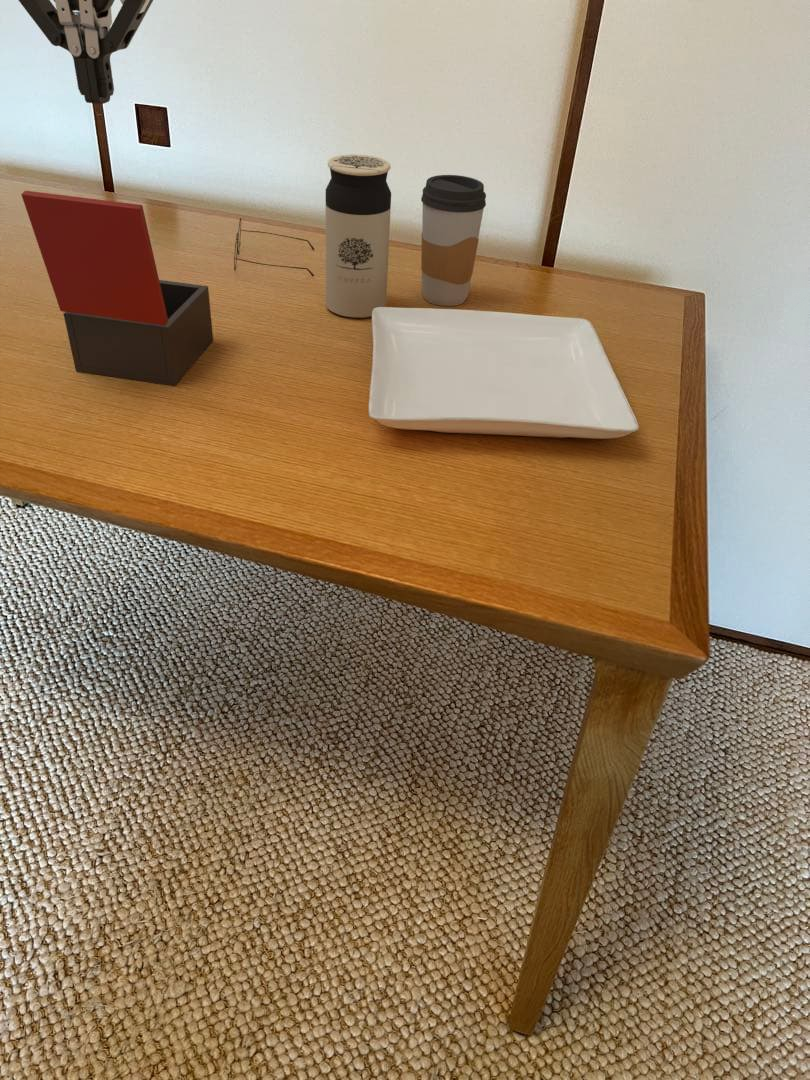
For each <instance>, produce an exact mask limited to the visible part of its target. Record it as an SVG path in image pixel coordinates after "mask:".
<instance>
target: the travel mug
mask: <svg viewBox="0 0 810 1080" xmlns="http://www.w3.org/2000/svg"><path fill="white" fill-rule="evenodd" d="M327 167H328V168H329V170H330V180H329V182H328V184H327V186H326V188H325V306H326V308H327V309H328V310H329V311H330V312H332V313H334V314H336V315H338V316H342V317H345V318H351V319H352V318H353V319H367V318H370V317H371V318H372V311H373V309H374V308H377V307H387V290H388V270H389V250H390V232H391V231H390V229H391V209H392V192H391V189H390V186H389V185H388V182H387V180H388V179H387V178H388V173H389V172H390V170H391V164H390V162H389V161H388V160H386V159H384V158H381V157H378V156H373V155H368V154H367V155H366V154H341V155H336V156H333V157H331V158H330V159H328V161H327Z"/></svg>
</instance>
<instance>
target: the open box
mask: <svg viewBox="0 0 810 1080" xmlns="http://www.w3.org/2000/svg"><path fill="white" fill-rule="evenodd" d="M159 282H160V286H161V291H162V295H163V300H164V304H165V309H166V313H167V318H168V323H167V324H166V326H164V325H157V324H150V323H142V322H135V321H128V320H121V319H114V318H106V317H99V316H92V315H85V314H78V313H70V312H63V318H64V319H63V320H64V323H65V328H66V332H67V338H68V341H69V346H70V350H71V356H72V360H73V364H74V369H75V372H78V373H84V374H91V375H97V376H98V375H99V376H106V377H113V378H118V379H119V378H121V379H125V380H134V381H141V382H146V383H154V384H159V385H166V386H167V385H168V386H174V387H176V386H177V384H178V383H180V381H181V380H182V379H183V377H184V376H185V375H186V374H187V373H188V372H189V370H191V368H192V367H193V366H194V365H195V363H196V362H197V361H198V360H199V358H200V357H201V356H202V354H204V353H205V351H206V350H207V349H208V347H210V345H212V343H213V342H214V333H213V323H212V313H211V304H210V303H211V301H210V291H209V286H208V285H201V284H195V283H188V282H187V283H186V282H178V281H172V280H171V281H170V280H164V279H163V280H162V279H159Z"/></svg>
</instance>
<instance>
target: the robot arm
mask: <svg viewBox="0 0 810 1080" xmlns="http://www.w3.org/2000/svg"><path fill="white" fill-rule="evenodd" d="M119 1H120V3H121V7H120V9H119V11H118V12H117V15H116V17H115V18H114V20H113V16H112V6H113V4H114V3H115V0H53V2H54V3H55V5H54V4H53V2H52V1H51V0H18V2H19V3H20V4H21V6H22V8H24V9H25V11H26V12H27V13H28V15H29V17H31V19H32V20H33V21H34V23H35V24H36V25H37V27H38V28H39V29H40V31H41V32H42V34H43V35H44V36H45V37H46V39H47V40H48V42H49V43H50V44H51V45H52V46H54V47H60V48H62V49H64V50H66V51H68V52H69V53H70V55H71V56H72V57H71V58H72V59H73V65H74V71H75V77H76V83H77V89H78V91H79V93H80V95H81V96H84V97H83V98H84V101H85V102H86V103H88V104H94V105H95V104H96V105H97V104H98V105H104V104H106V103H109V102H110V100H111V97H112V96H113V95H114V91H115V85H114V78H113V73H112V72H113V71H112V65H111V64H112V63H111V55H112V54H113V53H116V52H118V51H121V50H125V49H127V48H128V47H129V46H130V44H131V42H132V40H133V38H134V37H135V34H136V33H137V31H138V29H139V27H140V25H141V23H142V22H143V20H144V19H145V16H146V14H147V12H148V11H149V9H150V7H151V5H152V4H153V2H154V0H119Z"/></svg>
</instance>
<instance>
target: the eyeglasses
mask: <svg viewBox="0 0 810 1080" xmlns="http://www.w3.org/2000/svg"><path fill="white" fill-rule="evenodd" d="M241 221H242V218H241V217H240V218H239V221H238V229H239V231H238V232H236V235H235V244H234V252H236V253H235V255H234V257H233V270H234V271H236V269H237V264H236V263H237V261H242V262H246V263H251V264H255V265H263V266H269V267H270V266H271V267H280V268H281V267H282V268H289V269H296V270H298V269H299V270H306V271H307V272H309V274H310V275H311V277H314V276H315V274H314V273H313V272H312V271H311V270H310V269H309V268H308V267H299V266H288V265H287V266H286V265H277V264H268V263H260V262H255V261H250V260H245V259H242V258H238V255H239V253H240V250H239V249H241V248H240V247H241V240H240V238H241V236H242V231H243V232H247V233H248V232H251V233H261V234H268V235H273V236H279V237H284V238H289V239H295V240H299V241H304V242H307V243H308V245H309V246H310V248H311V249H312V251H314V250H315V248H314V246H313V245H312V244H311V242H310V241H309V239H308V240H307V239H304V238H299V237H293V236H288V235H282V234H278V233H273V232H266V231H258V230H245V229H242V224H241Z"/></svg>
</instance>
